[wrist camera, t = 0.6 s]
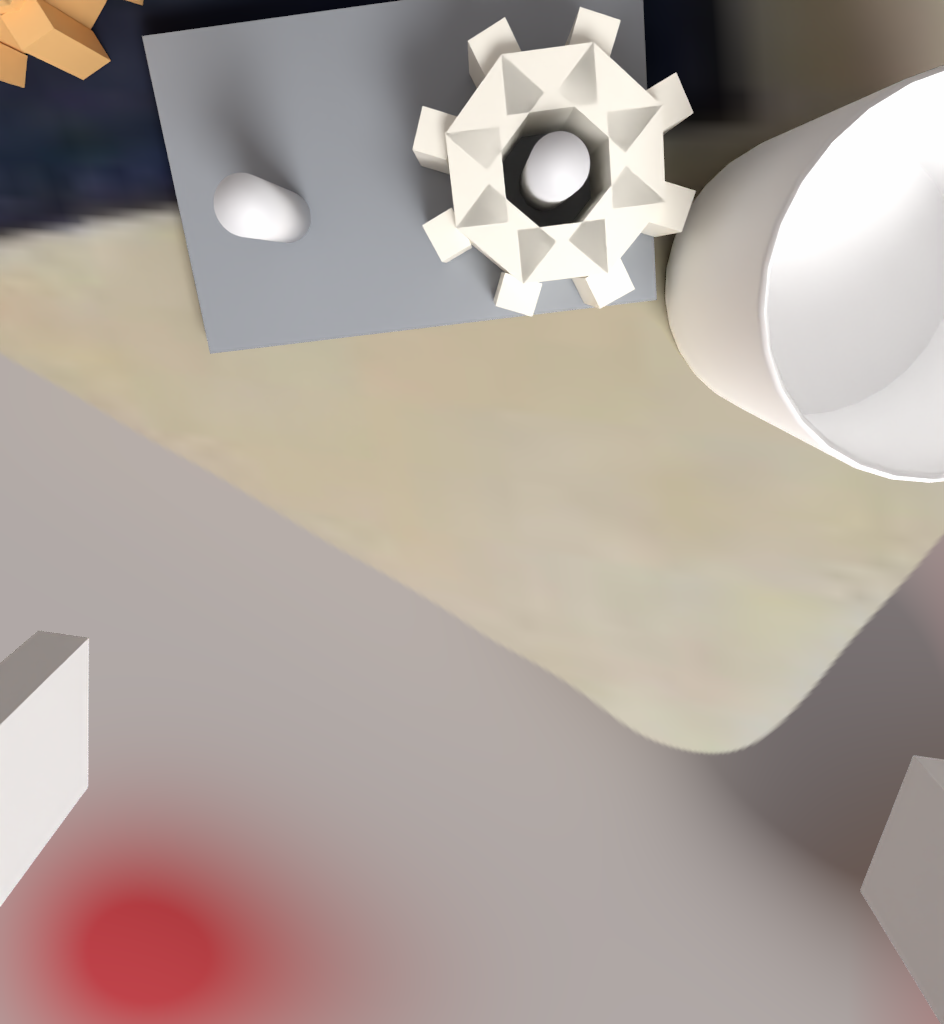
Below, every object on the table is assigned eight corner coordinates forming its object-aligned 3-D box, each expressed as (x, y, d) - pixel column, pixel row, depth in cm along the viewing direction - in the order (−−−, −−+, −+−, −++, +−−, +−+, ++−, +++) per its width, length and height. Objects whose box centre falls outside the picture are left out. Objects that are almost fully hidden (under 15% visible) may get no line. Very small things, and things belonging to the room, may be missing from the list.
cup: (914, 412, 35) (1125, 481, 24) (657, 417, 35) (743, 487, 24) (957, 127, 32) (1228, 48, 20) (672, 134, 32) (780, 58, 20)
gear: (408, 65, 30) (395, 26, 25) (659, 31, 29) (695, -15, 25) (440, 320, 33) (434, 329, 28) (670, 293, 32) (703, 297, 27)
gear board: (157, 46, 31) (61, -20, 24) (633, -19, 30) (682, -108, 23) (221, 350, 35) (154, 371, 27) (649, 298, 34) (695, 306, 27)
